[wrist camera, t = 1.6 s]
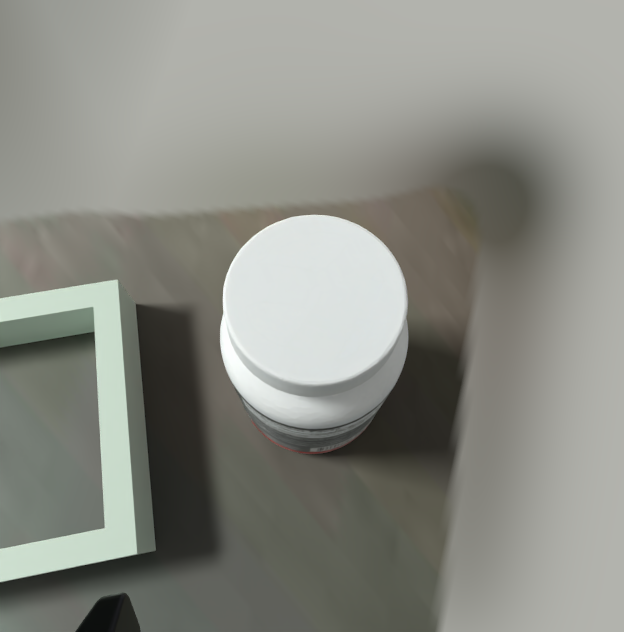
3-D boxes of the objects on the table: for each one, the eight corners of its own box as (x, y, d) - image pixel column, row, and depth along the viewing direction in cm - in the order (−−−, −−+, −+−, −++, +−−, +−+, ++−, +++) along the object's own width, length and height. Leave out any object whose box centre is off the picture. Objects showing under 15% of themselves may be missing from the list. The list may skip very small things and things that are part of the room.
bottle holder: (155, 550, 20) (137, 554, 18) (-130, 609, 20) (-189, 620, 17) (135, 303, 24) (117, 279, 22) (-107, 343, 23) (-153, 323, 21)
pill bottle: (269, 306, 24) (249, 169, 15) (393, 344, 24) (453, 226, 14) (222, 431, 22) (165, 363, 13) (357, 475, 22) (399, 437, 12)
